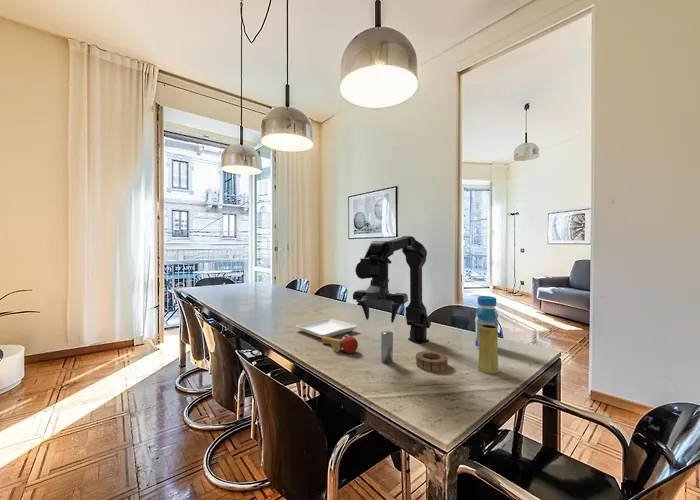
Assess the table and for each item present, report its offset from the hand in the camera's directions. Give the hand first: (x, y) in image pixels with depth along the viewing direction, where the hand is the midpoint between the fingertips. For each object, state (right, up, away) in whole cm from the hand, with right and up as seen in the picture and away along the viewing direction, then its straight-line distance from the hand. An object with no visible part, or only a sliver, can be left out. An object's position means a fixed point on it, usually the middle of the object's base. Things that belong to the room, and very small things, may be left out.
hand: (379, 321), depth 107 cm
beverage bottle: (+43, -14, +13) cm, 47 cm away
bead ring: (+17, -14, -5) cm, 22 cm away
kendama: (-15, -14, +11) cm, 23 cm away
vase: (+34, -14, -9) cm, 38 cm away
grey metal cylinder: (+2, -14, -2) cm, 14 cm away
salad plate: (-21, -13, +34) cm, 42 cm away
